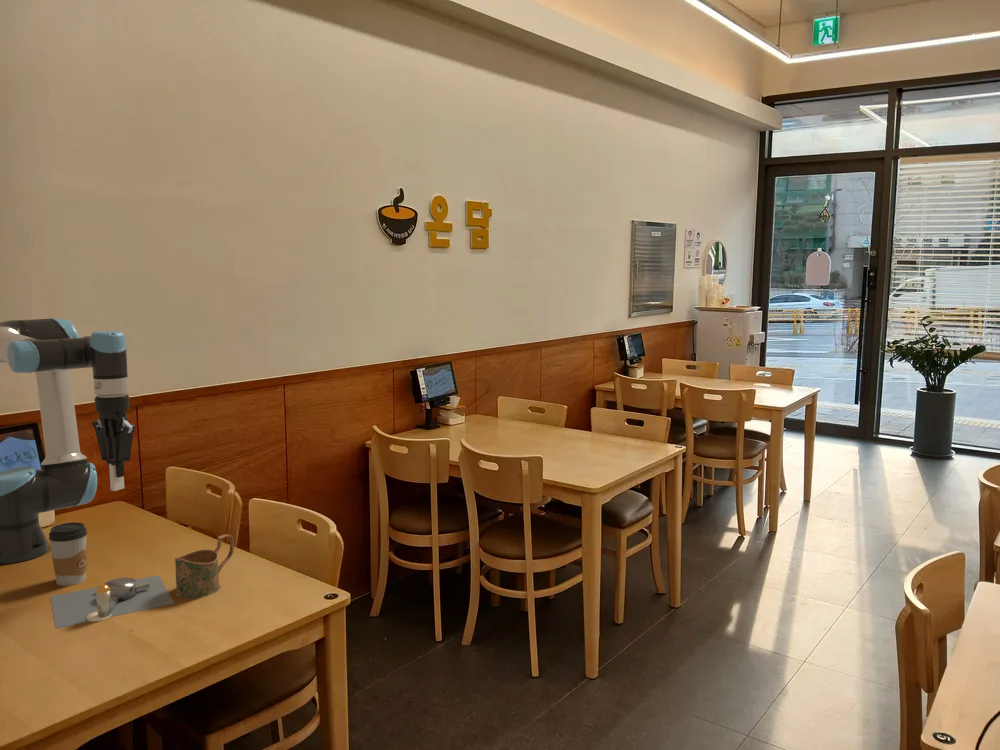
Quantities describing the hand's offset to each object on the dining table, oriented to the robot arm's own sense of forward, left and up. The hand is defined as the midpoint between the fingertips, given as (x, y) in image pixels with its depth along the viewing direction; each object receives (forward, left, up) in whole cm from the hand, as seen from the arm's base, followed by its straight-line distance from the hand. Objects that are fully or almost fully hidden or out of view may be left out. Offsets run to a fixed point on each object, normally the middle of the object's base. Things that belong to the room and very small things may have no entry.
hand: (117, 489), depth 191 cm
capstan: (+15, -4, -23) cm, 28 cm away
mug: (+15, +17, -25) cm, 34 cm away
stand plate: (+12, -4, -24) cm, 28 cm away
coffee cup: (-6, -11, -25) cm, 28 cm away
